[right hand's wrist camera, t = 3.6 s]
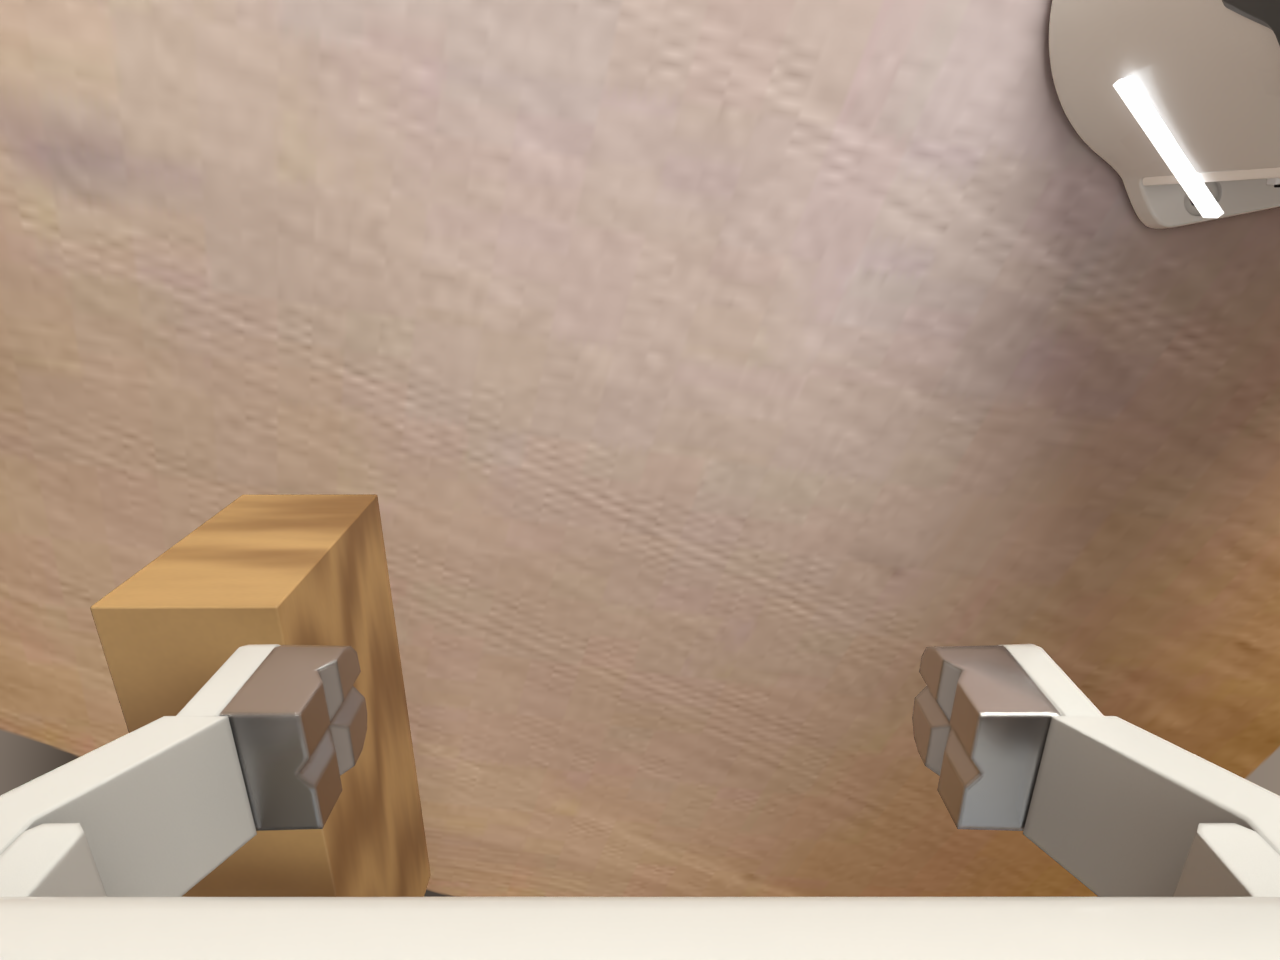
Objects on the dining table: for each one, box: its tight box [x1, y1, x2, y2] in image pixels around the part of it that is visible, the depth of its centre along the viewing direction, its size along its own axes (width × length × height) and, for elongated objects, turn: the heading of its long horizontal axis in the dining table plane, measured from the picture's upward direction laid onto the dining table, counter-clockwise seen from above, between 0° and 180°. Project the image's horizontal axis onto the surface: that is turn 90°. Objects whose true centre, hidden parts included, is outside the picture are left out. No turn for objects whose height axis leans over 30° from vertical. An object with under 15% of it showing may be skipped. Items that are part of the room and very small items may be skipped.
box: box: [90, 495, 430, 897], centre depth 31 cm, size 23×6×10 cm, turn 0°
